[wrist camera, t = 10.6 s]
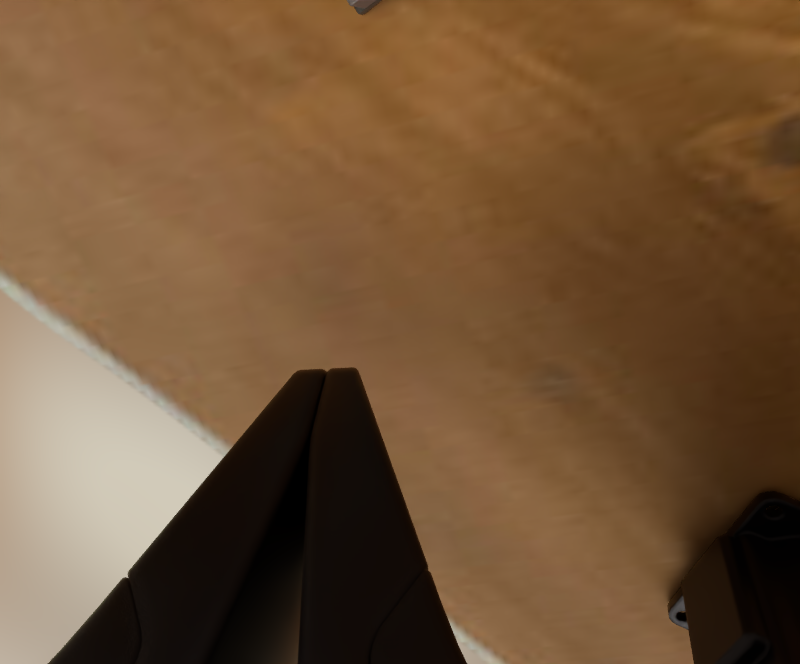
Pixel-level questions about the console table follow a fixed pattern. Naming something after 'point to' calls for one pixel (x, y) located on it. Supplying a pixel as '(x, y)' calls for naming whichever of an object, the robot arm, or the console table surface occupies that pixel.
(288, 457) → the robot arm
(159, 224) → the console table surface
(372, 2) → the tray
